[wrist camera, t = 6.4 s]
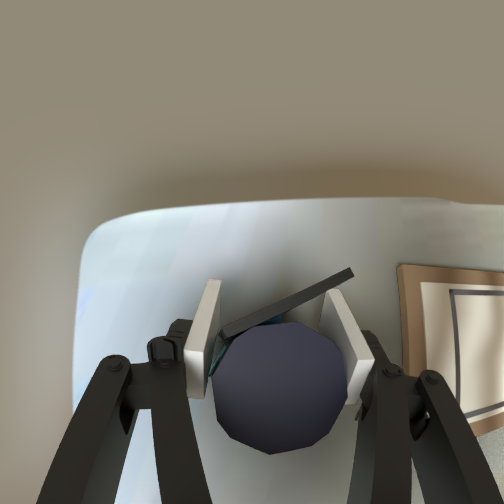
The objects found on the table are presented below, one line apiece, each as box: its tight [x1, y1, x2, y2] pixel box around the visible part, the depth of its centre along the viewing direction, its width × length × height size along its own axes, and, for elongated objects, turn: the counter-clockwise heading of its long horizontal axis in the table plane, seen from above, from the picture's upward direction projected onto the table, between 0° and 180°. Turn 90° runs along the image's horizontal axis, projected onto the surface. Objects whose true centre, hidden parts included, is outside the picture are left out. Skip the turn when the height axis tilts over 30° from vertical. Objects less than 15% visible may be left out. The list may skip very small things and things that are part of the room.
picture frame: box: [397, 264, 504, 437], centre depth 19 cm, size 20×15×1 cm
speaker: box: [209, 267, 354, 455], centre depth 14 cm, size 8×6×10 cm
